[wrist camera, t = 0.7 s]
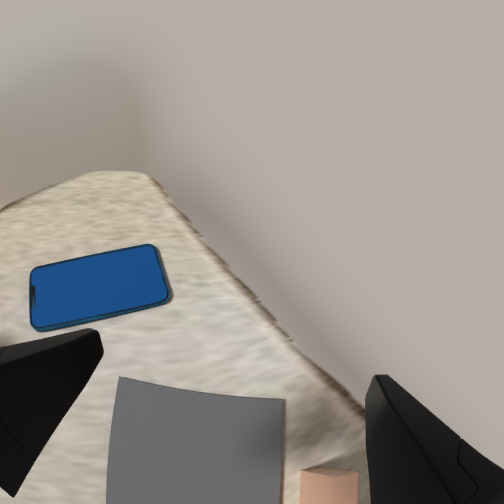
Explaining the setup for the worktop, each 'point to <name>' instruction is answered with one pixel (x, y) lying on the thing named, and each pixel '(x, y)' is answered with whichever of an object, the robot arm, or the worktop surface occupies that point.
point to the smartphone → (96, 287)
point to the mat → (192, 447)
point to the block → (328, 486)
